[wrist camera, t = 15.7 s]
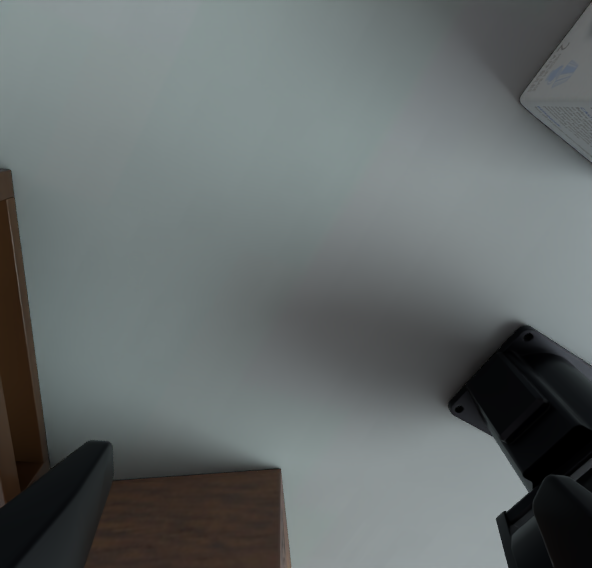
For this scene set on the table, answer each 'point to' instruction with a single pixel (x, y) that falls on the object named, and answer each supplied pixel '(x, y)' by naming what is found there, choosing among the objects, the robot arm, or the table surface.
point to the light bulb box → (567, 88)
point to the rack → (17, 364)
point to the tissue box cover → (194, 523)
